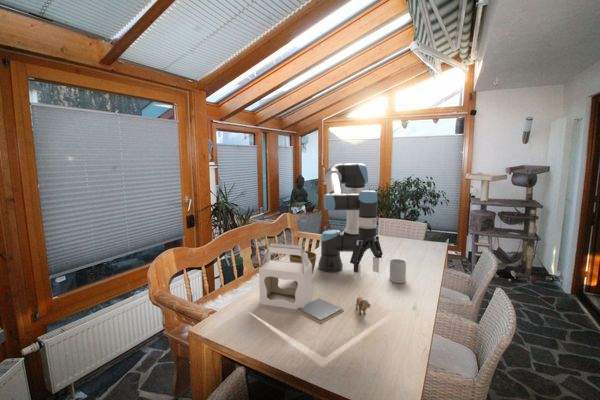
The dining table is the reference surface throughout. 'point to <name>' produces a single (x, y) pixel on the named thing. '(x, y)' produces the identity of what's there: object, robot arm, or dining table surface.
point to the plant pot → (299, 259)
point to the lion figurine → (362, 305)
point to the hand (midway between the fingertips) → (366, 275)
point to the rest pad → (320, 310)
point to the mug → (397, 271)
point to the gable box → (285, 276)
